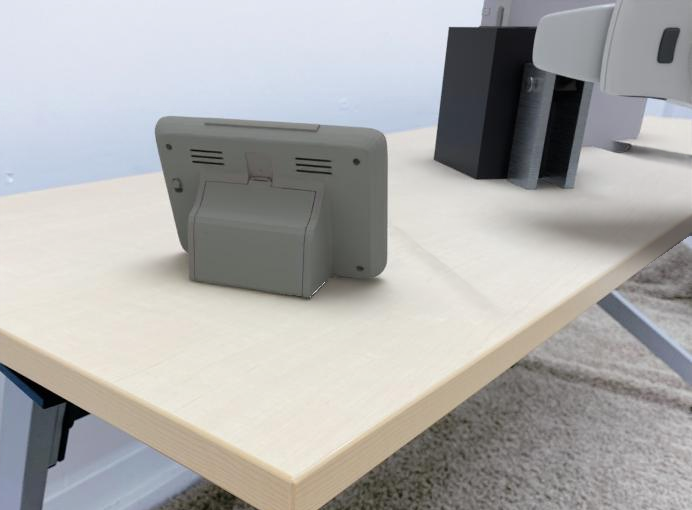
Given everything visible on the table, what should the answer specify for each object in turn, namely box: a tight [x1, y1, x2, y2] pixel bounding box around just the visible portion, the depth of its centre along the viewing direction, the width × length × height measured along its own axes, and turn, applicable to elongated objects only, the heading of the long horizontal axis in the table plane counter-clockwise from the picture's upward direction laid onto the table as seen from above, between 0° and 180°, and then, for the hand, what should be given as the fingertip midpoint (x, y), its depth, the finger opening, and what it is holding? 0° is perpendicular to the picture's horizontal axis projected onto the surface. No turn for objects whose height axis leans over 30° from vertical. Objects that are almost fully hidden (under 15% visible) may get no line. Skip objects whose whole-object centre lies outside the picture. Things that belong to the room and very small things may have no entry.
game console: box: [479, 0, 649, 153], centre depth 93 cm, size 6×27×20 cm, turn 115°
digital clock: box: [154, 115, 389, 298], centre depth 48 cm, size 16×9×11 cm, turn 55°
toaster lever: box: [551, 74, 577, 102], centre depth 65 cm, size 11×6×2 cm, turn 8°
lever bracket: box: [506, 63, 594, 190], centre depth 71 cm, size 5×7×13 cm
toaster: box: [433, 25, 556, 181], centre depth 78 cm, size 12×11×16 cm
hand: (612, 39), depth 61 cm, fingers open, 8 cm apart
